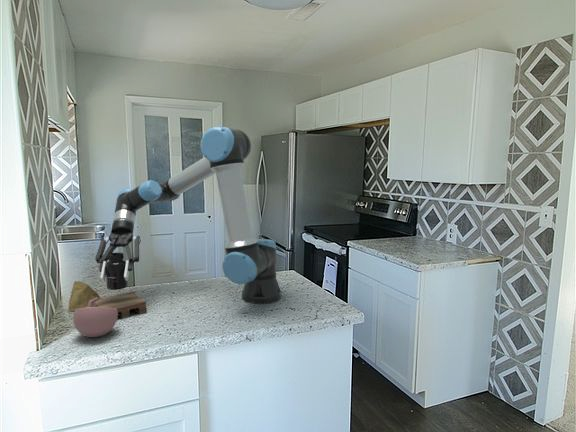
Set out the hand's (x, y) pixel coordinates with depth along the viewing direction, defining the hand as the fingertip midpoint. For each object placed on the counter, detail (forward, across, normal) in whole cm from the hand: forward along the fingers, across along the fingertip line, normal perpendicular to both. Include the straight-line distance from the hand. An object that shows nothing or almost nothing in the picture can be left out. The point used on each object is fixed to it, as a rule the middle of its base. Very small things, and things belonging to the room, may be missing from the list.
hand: (114, 279), depth 130 cm
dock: (+7, 0, -12) cm, 13 cm away
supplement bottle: (0, 0, -6) cm, 6 cm away
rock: (+2, +13, -17) cm, 21 cm away
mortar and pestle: (+20, +2, +2) cm, 20 cm away
